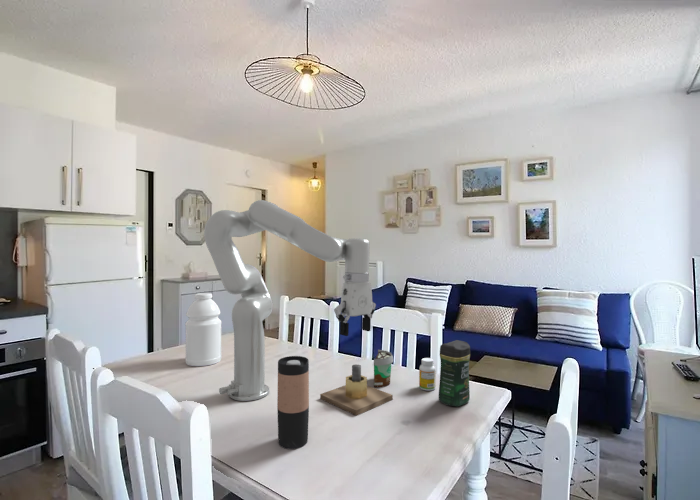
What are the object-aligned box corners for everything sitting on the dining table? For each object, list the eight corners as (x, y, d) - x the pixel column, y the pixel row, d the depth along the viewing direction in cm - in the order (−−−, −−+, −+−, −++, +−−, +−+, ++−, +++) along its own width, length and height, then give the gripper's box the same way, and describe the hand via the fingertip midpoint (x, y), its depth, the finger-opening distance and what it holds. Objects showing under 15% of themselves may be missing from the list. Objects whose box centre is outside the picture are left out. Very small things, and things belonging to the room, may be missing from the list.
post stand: (356, 415, 106) (356, 378, 106) (320, 398, 117) (320, 365, 117) (392, 399, 117) (392, 366, 117) (356, 385, 128) (356, 355, 128)
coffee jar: (457, 410, 110) (457, 347, 110) (434, 401, 116) (435, 341, 115) (474, 401, 116) (474, 341, 116) (451, 393, 122) (452, 336, 122)
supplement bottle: (423, 383, 130) (423, 356, 130) (438, 387, 127) (438, 358, 127) (416, 388, 126) (416, 360, 126) (431, 392, 123) (431, 363, 123)
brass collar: (356, 400, 112) (356, 384, 112) (341, 394, 117) (341, 378, 117) (371, 394, 117) (371, 378, 117) (356, 388, 122) (356, 373, 122)
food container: (391, 390, 124) (391, 360, 124) (373, 388, 126) (373, 359, 126) (394, 377, 137) (395, 350, 136) (378, 376, 138) (378, 349, 138)
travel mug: (279, 434, 95) (279, 356, 95) (309, 432, 96) (309, 355, 96) (275, 450, 88) (275, 365, 88) (308, 449, 88) (308, 365, 88)
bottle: (208, 354, 164) (208, 290, 164) (228, 360, 156) (228, 293, 155) (178, 362, 153) (178, 294, 152) (197, 369, 144) (197, 297, 144)
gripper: (344, 280, 108) (343, 339, 108) (384, 277, 120) (382, 331, 120) (327, 278, 113) (326, 334, 114) (367, 276, 125) (365, 326, 126)
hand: (355, 332), depth 117 cm, fingers open, 9 cm apart
